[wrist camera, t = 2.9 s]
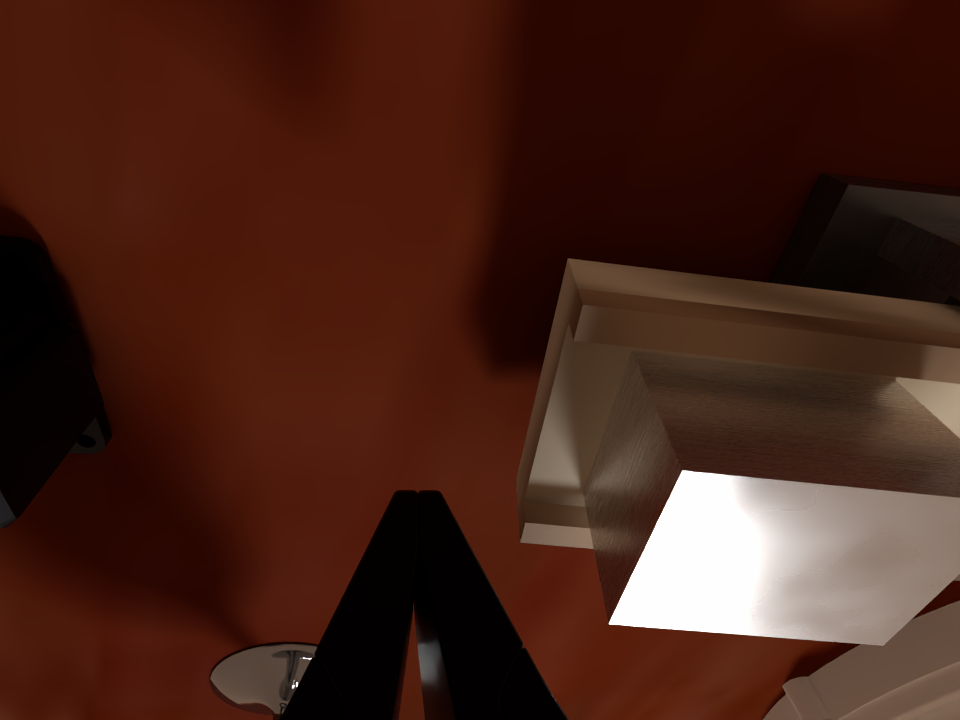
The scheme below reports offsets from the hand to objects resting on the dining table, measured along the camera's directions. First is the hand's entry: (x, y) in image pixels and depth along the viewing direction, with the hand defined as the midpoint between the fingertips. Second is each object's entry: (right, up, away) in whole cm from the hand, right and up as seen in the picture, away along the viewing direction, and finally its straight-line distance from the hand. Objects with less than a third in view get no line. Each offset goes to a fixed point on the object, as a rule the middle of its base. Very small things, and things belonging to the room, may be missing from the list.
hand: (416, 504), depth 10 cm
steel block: (+7, +1, +3) cm, 8 cm away
